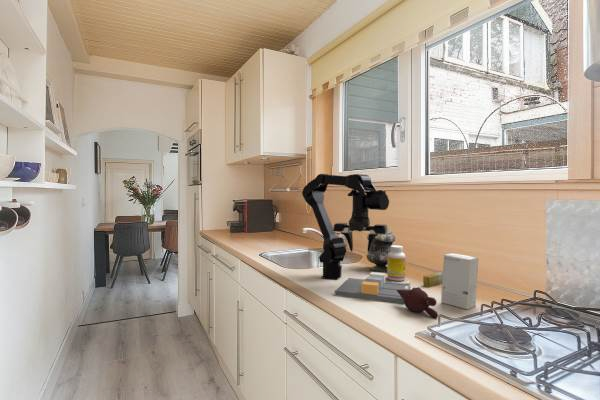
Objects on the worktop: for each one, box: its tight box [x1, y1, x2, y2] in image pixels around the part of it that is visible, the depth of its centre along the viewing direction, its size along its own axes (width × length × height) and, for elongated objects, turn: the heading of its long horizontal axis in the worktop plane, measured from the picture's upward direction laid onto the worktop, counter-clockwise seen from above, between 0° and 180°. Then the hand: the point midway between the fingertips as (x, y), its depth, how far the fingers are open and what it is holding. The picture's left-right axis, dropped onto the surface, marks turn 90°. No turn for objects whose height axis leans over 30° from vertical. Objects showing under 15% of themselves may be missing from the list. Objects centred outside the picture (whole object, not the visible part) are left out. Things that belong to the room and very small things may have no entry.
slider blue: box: [365, 275, 383, 289], centre depth 115 cm, size 5×4×3 cm
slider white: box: [369, 271, 387, 284], centre depth 121 cm, size 5×4×3 cm
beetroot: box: [397, 286, 439, 319], centre depth 97 cm, size 7×7×15 cm
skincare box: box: [440, 253, 479, 310], centre depth 102 cm, size 8×6×15 cm
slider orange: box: [361, 281, 379, 295], centre depth 109 cm, size 5×4×3 cm
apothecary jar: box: [366, 228, 396, 274], centre depth 146 cm, size 12×12×18 cm
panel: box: [334, 277, 411, 305], centre depth 115 cm, size 22×18×3 cm
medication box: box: [422, 270, 443, 288], centre depth 125 cm, size 12×3×4 cm, turn 125°
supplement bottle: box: [387, 244, 406, 282], centre depth 131 cm, size 7×7×13 cm
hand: (359, 251), depth 124 cm, fingers open, 6 cm apart
